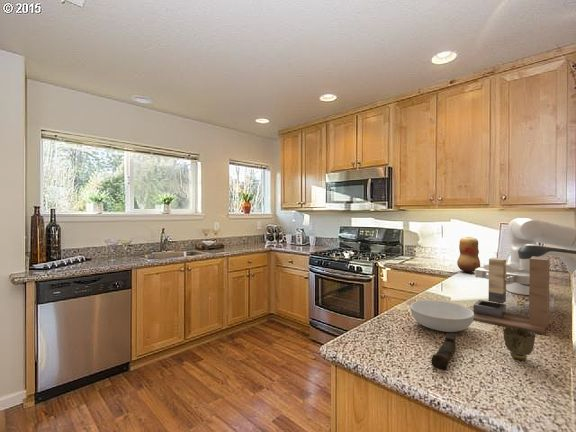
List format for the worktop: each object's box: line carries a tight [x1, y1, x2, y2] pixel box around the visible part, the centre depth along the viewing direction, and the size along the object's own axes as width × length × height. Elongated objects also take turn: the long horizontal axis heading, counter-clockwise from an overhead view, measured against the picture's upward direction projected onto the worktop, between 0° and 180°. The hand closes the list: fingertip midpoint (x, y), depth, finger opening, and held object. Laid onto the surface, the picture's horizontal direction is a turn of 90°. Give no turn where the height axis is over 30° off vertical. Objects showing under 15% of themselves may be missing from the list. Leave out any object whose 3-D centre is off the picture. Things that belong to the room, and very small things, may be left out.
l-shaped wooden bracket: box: [468, 256, 550, 336], centre depth 117 cm, size 16×26×25 cm, turn 46°
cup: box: [502, 326, 537, 361], centre depth 87 cm, size 8×7×8 cm
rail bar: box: [487, 257, 507, 304], centre depth 128 cm, size 5×5×18 cm
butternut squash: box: [456, 236, 481, 274], centre depth 212 cm, size 14×13×25 cm
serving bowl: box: [409, 299, 474, 333], centre depth 111 cm, size 21×21×7 cm
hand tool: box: [430, 332, 457, 371], centre depth 88 cm, size 19×4×5 cm, turn 139°
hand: (496, 278), depth 128 cm, fingers closed on rail bar, 5 cm apart
